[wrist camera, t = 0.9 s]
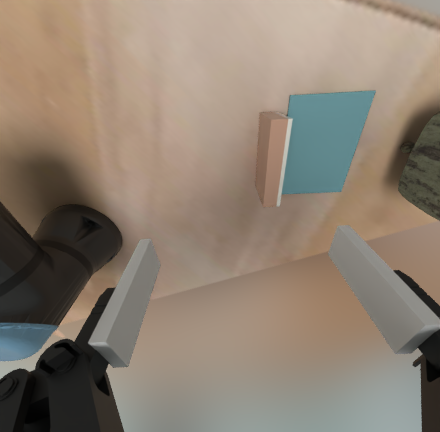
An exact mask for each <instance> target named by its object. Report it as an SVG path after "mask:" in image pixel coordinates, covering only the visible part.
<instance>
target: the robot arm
mask: <svg viewBox="0 0 440 432" xmlns="http://www.w3.org/2000/svg"><path fill="white" fill-rule="evenodd" d="M121 245H122V238H121V234H120V232H119V230H118V229H117V227H116V226H115V225H114V223H113V222H112V221H111V220H109V219H108V218H107V217H106V216H104V215H103V214H101V213H99V212H97V211H95V210H93V209H91V208H88V207H84V206H79V205H64V206H60V207H58V208H56V209H54V210H53V211H52V212H50V213H49V214H48V215H46V216H45V217H44V219H43V220H42V222H41V225H40V226H39V228H38V229H37V231H36V233H35V234H34V236H33V238H32V237H31V236H30V235H29V234H28V233H27V232H26V230H25V229H24V228H23V227H22V226H21V225H20V224H19V222H18V221H17V220H16V219H15V218H14V217H13V216H12V214H11V213H10V212H9V211H8V210H7V209H6V208H5V206H4V205H3V204H2V203H1V202H0V361H14V360H21V359H25V358H27V357H30V356H32V355H33V354H35V353H36V352H38V351H39V349H41V348H42V346H43V345H44V344H45V342H46V341H47V340H48V338H49V337H50V336H51V334H52V333H53V332H54V331H55V330H56V329H57V328H58V326H59V324H60V323H61V321H62V320H63V318H64V317H65V315H66V314H67V312H68V311H69V309H70V308H71V306H72V305H73V303H74V302H75V300H76V299H77V297H78V296H79V294H80V293H81V291H82V290H83V288H84V287H85V285H86V283H87V282H88V280H89V279H90V278H91V276H92V275H93V274H94V273H95V272H96V271H98V270H99V269H100V268H101V267H103V266H104V265H105V264H106V263H108V262H109V261H111V260H112V259H113V258H114V257H115V256H116V254H117V253H118V251H119V249H120V248H121ZM328 255H329V256H330V258H331V260H332V261H333V263H334V264H335V266H336V267H337V268H338V270H339V271H340V273H341V274H342V276H343V277H344V279H345V280H346V282H347V283H348V285H349V286H350V288H351V289H352V291H353V292H354V294H355V295H356V297H357V298H358V300H359V301H360V303H361V304H362V306H363V307H364V309H365V310H366V311H367V313H368V315H369V316H370V318H371V319H372V321H373V322H374V323H375V325H376V327H377V328H378V329H379V331H380V332H381V334H382V335H383V337H384V338H385V340H386V341H387V343H388V344H389V346H390V347H391V349H392V350H393V352H394V353H395V354H407V353H412V352H413V351H414V350H416V349H417V348H419V350H420V351H421V352H422V353H423V355H421V356H420V357H419V358H418V359H416V360H415V361H414V362H413V366H414V367H416V366H418V365H419V364H420V363H421V369H420V370H421V404H422V405H421V407H422V408H421V409H422V432H440V306H439V305H438V304H437V303H436V302H435V301H434V300H433V299H432V298H431V297H430V296H429V295H427V293H426V292H425V291H424V290H423V289H422V288H420V287H419V285H418V284H417V283H416V282H414V281H413V279H412V278H410V277H409V276H407V275H406V274H404V273H402V272H401V271H399V270H394V271H393V270H392V269H391V268H390V267H389V266H388V265H387V264H386V263H385V262H384V261H383V260H382V259H381V258H380V257H379V256H378V255H377V254H376V253H375V252H374V251H373V250H372V249H371V247H370V246H369V245H368V244H367V243H366V242H365V241H364V240H363V239H362V238H361V237H360V236H359V235H358V234H357V233H356V232H355V231H354V230H353V229H352V228H351V227H350V226H349V225H345V226H338V227H337V229H336V232H335V235H334V238H333V241H332V244H331V247H330V250H329V253H328ZM159 268H160V262H159V260H158V257H157V254H156V251H155V249H154V246H153V243H152V240H151V239H140V241H139V243H138V245H137V247H136V249H135V251H134V253H133V255H132V257H131V259H130V261H129V263H128V265H127V267H126V268H125V270H124V272H123V274H122V276H121V278H120V280H119V282H118V284H117V286H116V288H107V289H106V291H105V292H104V293H103V294H102V295H101V296H100V297H99V299H98V301H97V302H96V304H95V307H94V308H93V309H92V311H91V314H90V315H89V317H88V318H87V320H86V322H85V324H84V325H83V327H82V329H81V331H80V333H79V335H78V336H77V338H76V340H75V342H73V341H72V340H70V339H63V340H60V341H58V342H56V343H54V344H52V345H51V346H50V347H49V348H47V349H46V350H45V352H44V353H43V354H42V355H41V356H40V358H39V360H38V362H37V363H36V368H35V370H33V371H31V372H29V371H27V370H25V369H17V370H14V371H12V372H10V373H8V374H7V375H5V376H4V377H3V378H2V379H0V432H124V430H123V426H122V423H121V419H120V416H119V412H118V409H117V406H116V402H115V399H114V395H113V392H112V388H111V385H110V381H109V378H108V375H107V373H106V369H107V366H108V364H110V365H111V366H112V367H113V368H114V367H128V366H129V363H130V359H131V356H132V353H133V350H134V347H135V344H136V340H137V337H138V334H139V331H140V328H141V325H142V322H143V318H144V315H145V312H146V309H147V306H148V303H149V300H150V296H151V293H152V290H153V287H154V284H155V281H156V278H157V274H158V271H159Z"/></svg>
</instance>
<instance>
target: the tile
mask: <svg viewBox="0 0 440 432" xmlns="http://www.w3.org/2000/svg"><path fill="white" fill-rule="evenodd" d="M292 120H293V119H292V118H290V117H288V116H285V115H283V114H281V113H278V112H260V116H259V132H258V148H257V165H256V181H255V186H256V188H257V191H258V194H259V197H260V200H261V202H262V205H263V207H276V206H280V201H281V194H282V187H283V180H284V174H285V167H286V160H287V154H288V147H289V140H290V134H291V127H292Z"/></svg>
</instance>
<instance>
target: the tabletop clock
mask: <svg viewBox="0 0 440 432" xmlns="http://www.w3.org/2000/svg"><path fill="white" fill-rule="evenodd" d="M401 151H402V152H404V153H408V152H411V151H412V152H411V154H410V156H409V158H408V160H407V163H406V165H405V168H404V170H403V173H402V175H401V178H400V181H399V187H398V191H399V192H400V193H401V195H402V196H403V197H404V198H405V199H407V200H408V201H409V202H411V203H412V204H414V205H415V206H416V207H418V208H419V209H421V210H422V211H424V212H425V213H427V214H429V215H430V216H432V217H434V218H436V219H438V220H440V112H438V113H437V114H436V115H434V116H433V117H432V118H431V119H430V121H429V122H428V123H427V124H426V126H425V127H424V129H423V131H422V132H421V134H420V136H419V138H418V140H417V142H416V144H415V145H414V144H413V143H411V142H409V143H405V144H403V145H402V147H401Z"/></svg>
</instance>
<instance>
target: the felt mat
mask: <svg viewBox="0 0 440 432" xmlns="http://www.w3.org/2000/svg"><path fill="white" fill-rule="evenodd" d="M375 92H376V91H359V92H341V93H324V94H306V95H290V100H289V107H288V115H287V116H288V117H290V118H292V119H293V120H292V127H291V134H290V140H289V147H288V154H287V160H286V167H285V174H284V180H283V187H282V194H300V193H324V192H341V191H342V188H343V185H344V182H345V179H346V176H347V173H348V170H349V167H350V164H351V161H352V159H353V156H354V153H355V150H356V147H357V144H358V141H359V138H360V135H361V132H362V129H363V127H364V124H365V121H366V118H367V115H368V112H369V109H370V106H371V103H372V100H373V97H374V95H375Z"/></svg>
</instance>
